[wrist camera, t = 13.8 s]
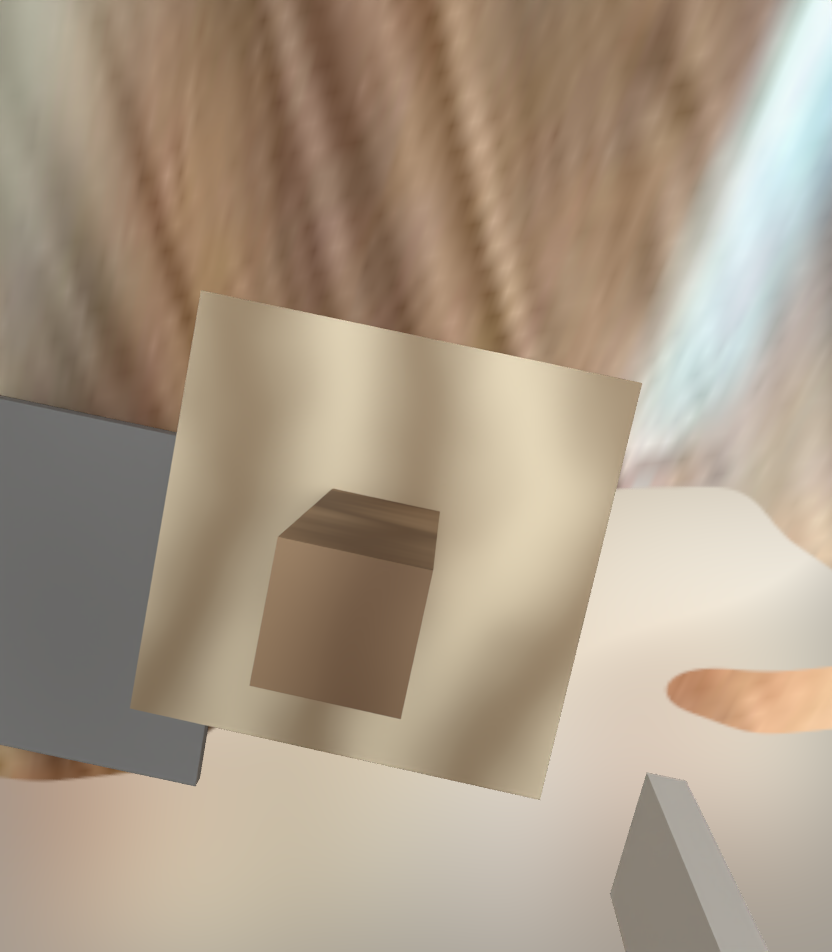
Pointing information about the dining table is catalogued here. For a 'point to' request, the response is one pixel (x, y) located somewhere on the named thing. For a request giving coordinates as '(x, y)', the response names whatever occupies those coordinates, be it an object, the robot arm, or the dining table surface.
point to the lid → (379, 543)
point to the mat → (82, 589)
